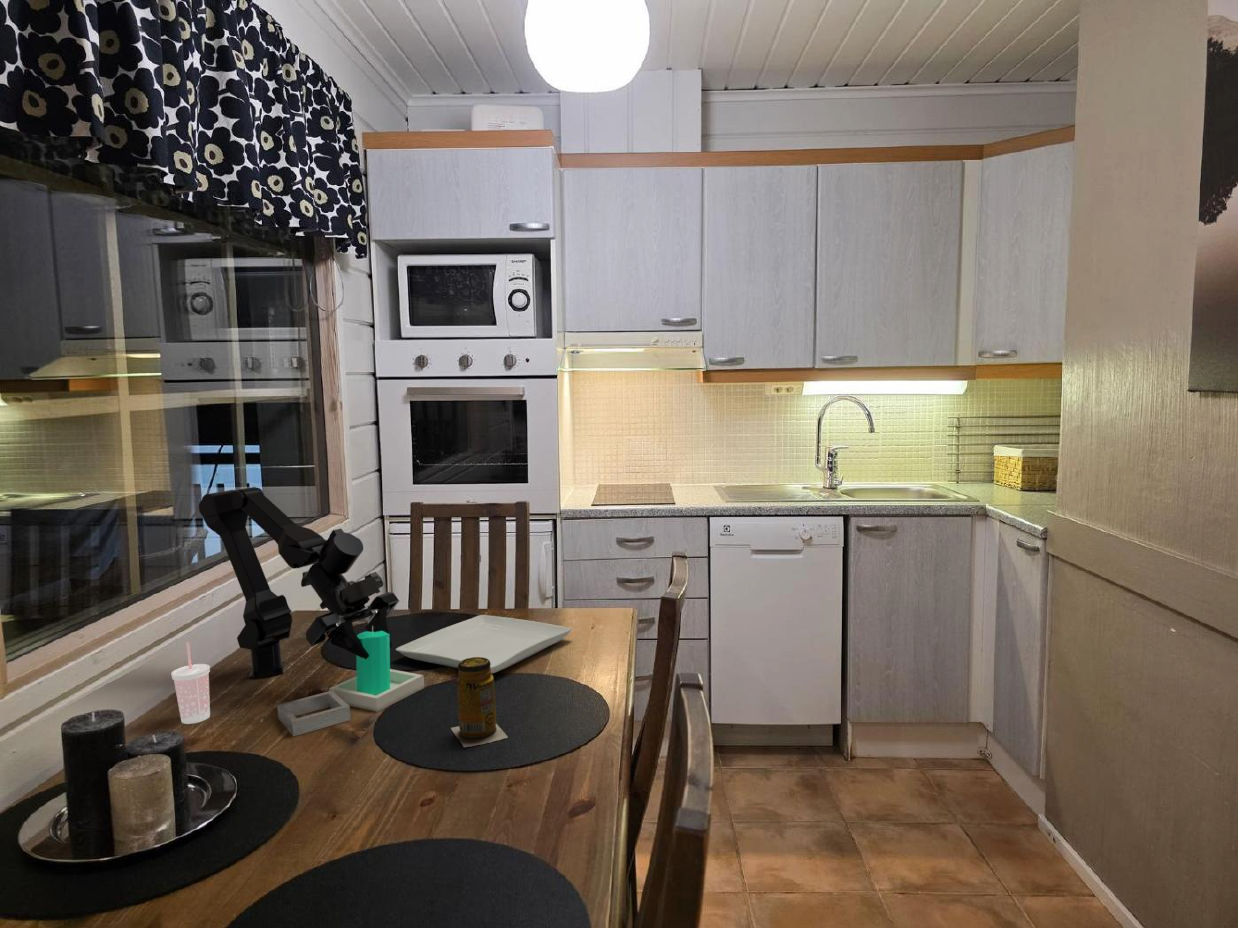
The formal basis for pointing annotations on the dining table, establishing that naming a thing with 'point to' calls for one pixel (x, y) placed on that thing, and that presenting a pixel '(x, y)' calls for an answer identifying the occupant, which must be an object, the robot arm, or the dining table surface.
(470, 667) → the condiment
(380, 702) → the tray
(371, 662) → the candle
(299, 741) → the dining table surface
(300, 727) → the steel collar
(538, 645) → the square plate
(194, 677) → the beverage cup
